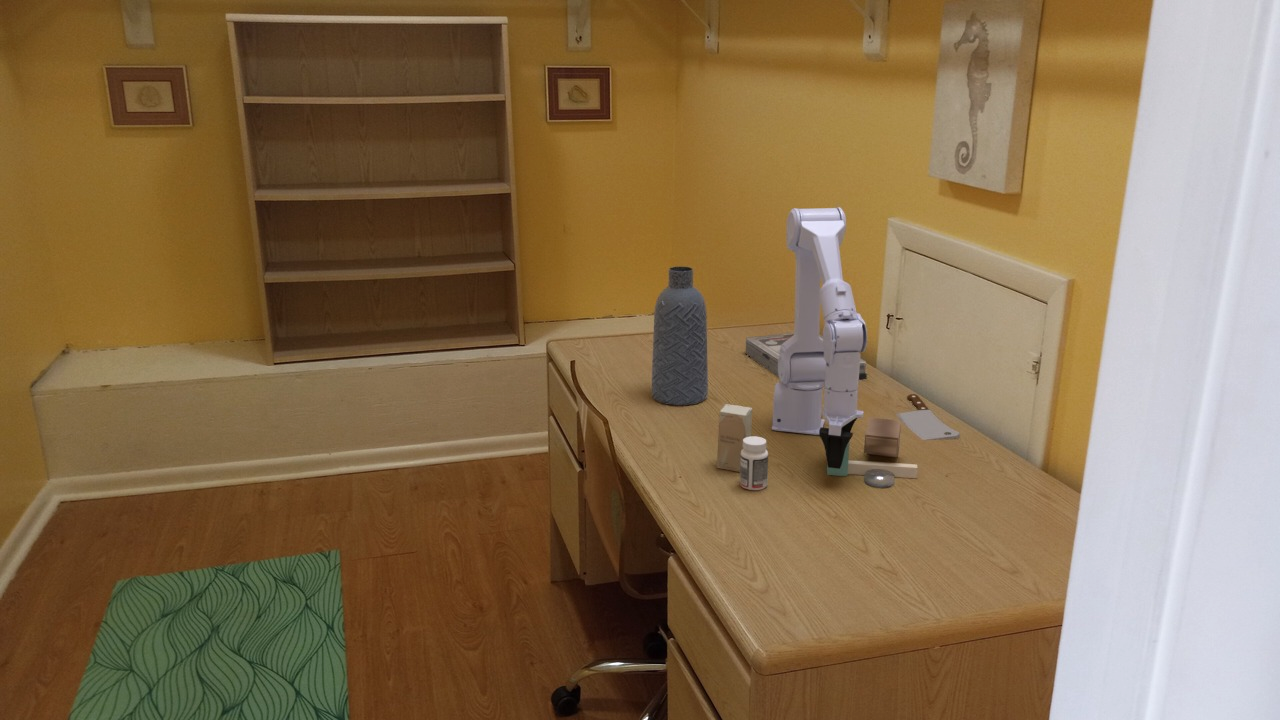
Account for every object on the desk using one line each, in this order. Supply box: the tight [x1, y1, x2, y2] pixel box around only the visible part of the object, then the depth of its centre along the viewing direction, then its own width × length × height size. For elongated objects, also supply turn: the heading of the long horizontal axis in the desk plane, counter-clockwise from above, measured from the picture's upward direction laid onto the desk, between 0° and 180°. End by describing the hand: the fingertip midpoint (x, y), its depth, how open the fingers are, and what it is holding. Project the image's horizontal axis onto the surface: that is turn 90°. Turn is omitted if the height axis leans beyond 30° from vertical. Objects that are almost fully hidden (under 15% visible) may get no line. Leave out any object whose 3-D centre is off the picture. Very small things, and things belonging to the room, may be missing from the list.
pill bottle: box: [739, 435, 769, 491], centre depth 172 cm, size 5×5×8 cm
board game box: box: [745, 332, 868, 381], centre depth 237 cm, size 18×27×4 cm
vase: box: [650, 266, 709, 406], centre depth 212 cm, size 12×12×28 cm
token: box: [864, 469, 896, 489], centre depth 174 cm, size 5×5×2 cm
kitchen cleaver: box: [895, 393, 961, 441], centre depth 204 cm, size 24×1×10 cm
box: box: [716, 403, 753, 473], centre depth 179 cm, size 5×4×11 cm
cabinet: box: [863, 417, 902, 459], centre depth 181 cm, size 6×9×7 cm, turn 163°
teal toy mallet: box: [826, 441, 919, 479], centre depth 177 cm, size 16×4×6 cm, turn 81°
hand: (836, 459), depth 178 cm, fingers open, 7 cm apart
